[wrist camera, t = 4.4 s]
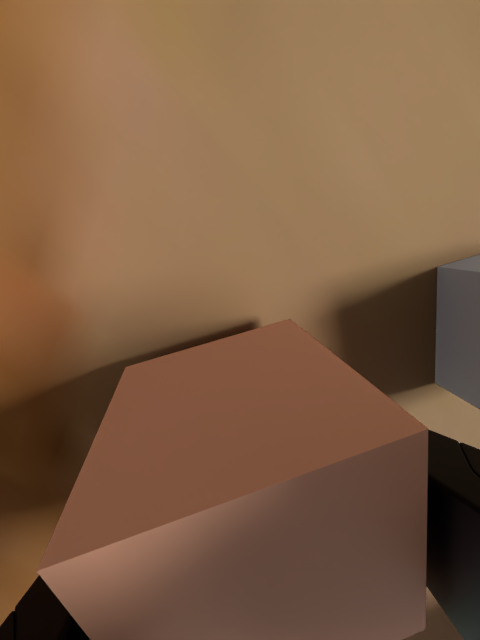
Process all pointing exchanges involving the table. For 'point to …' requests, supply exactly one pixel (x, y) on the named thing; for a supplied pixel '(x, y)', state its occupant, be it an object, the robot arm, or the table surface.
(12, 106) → the table surface
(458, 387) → the slate cube
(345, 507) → the terracotta cube
